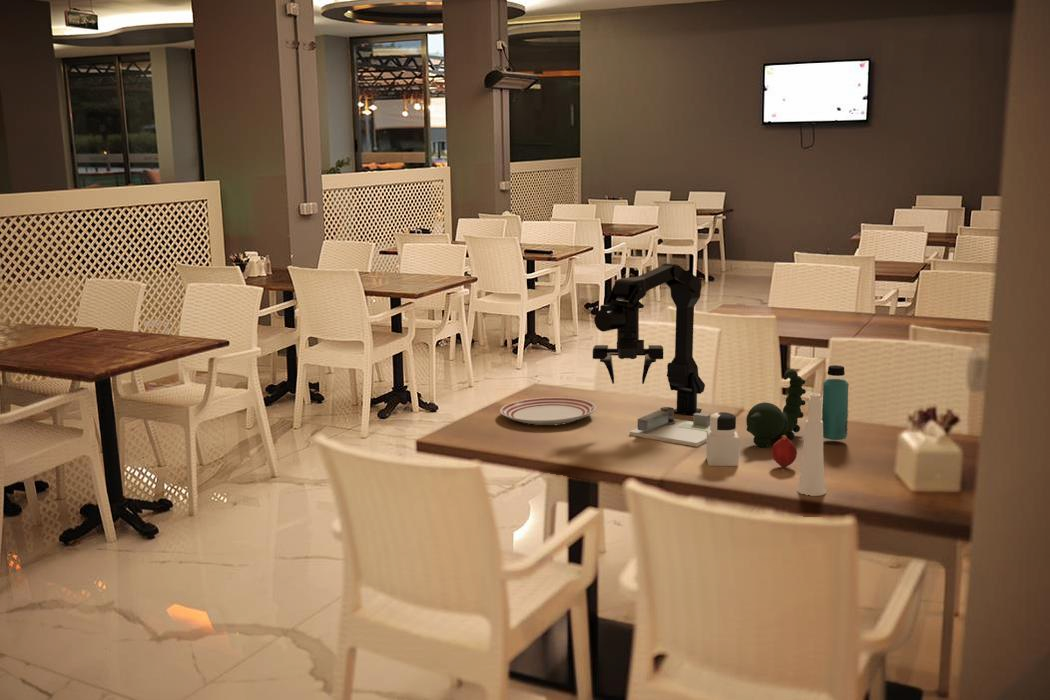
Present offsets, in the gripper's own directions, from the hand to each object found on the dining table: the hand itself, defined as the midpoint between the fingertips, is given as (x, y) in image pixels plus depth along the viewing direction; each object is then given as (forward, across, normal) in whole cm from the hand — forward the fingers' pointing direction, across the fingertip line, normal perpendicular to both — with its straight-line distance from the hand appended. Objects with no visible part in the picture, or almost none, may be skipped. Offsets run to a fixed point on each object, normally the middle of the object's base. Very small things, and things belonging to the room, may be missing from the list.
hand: (628, 383), depth 272 cm
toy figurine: (+13, +38, -8) cm, 41 cm away
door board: (+13, +14, -2) cm, 19 cm away
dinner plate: (+13, -23, +12) cm, 29 cm away
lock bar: (+11, +8, -1) cm, 14 cm away
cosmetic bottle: (+13, +41, -48) cm, 65 cm away
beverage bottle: (+13, +53, -9) cm, 55 cm away
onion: (+13, +37, -31) cm, 50 cm away
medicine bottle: (+13, +23, -28) cm, 38 cm away
